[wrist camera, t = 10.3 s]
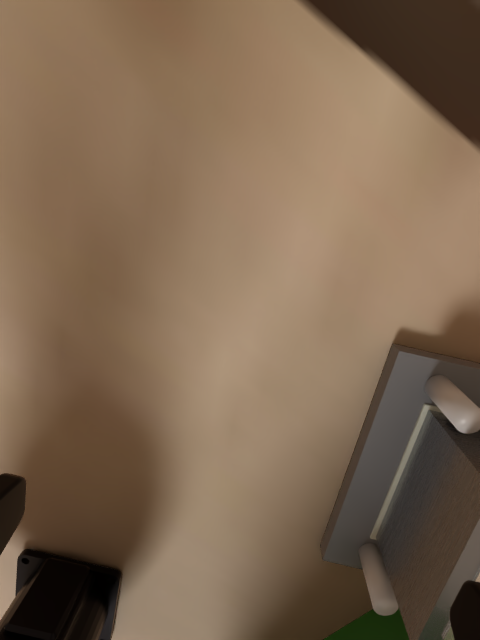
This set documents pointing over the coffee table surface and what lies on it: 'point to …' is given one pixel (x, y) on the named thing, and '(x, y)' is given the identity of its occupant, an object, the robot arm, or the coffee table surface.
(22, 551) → the robot arm
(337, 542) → the panel with knobs
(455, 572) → the drive
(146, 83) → the coffee table surface
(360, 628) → the hardback book
